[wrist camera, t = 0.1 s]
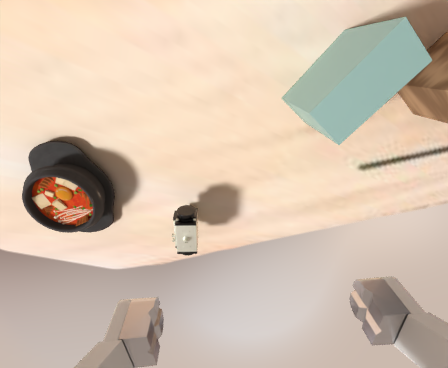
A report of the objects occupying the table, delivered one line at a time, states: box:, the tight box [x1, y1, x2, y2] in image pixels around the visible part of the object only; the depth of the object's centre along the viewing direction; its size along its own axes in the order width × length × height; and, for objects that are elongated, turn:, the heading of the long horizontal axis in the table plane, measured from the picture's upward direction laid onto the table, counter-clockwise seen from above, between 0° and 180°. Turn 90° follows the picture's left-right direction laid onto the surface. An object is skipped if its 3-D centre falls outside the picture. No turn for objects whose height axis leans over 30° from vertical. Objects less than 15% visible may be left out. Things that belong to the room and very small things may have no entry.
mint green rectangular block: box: [282, 17, 432, 145], centre depth 44 cm, size 17×8×16 cm, turn 139°
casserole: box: [22, 141, 115, 232], centre depth 56 cm, size 25×19×8 cm
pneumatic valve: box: [172, 205, 198, 255], centre depth 60 cm, size 6×12×12 cm, turn 179°
